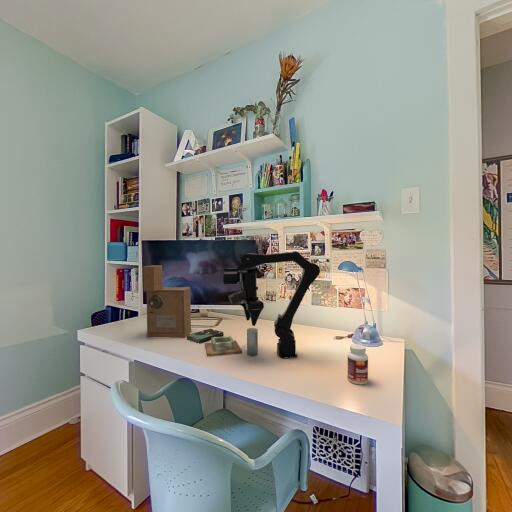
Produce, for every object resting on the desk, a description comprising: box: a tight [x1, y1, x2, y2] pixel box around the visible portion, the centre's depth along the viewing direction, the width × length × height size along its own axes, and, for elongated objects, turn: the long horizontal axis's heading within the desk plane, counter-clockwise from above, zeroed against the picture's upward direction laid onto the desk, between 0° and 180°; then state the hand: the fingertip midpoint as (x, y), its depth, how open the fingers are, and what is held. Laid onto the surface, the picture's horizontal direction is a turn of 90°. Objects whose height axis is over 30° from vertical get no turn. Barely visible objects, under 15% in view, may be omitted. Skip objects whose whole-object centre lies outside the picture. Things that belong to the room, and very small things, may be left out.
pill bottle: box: [347, 343, 369, 386], centre depth 91 cm, size 6×6×11 cm
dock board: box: [204, 335, 243, 358], centre depth 121 cm, size 14×14×4 cm
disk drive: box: [186, 328, 225, 345], centre depth 137 cm, size 10×3×15 cm
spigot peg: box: [246, 327, 259, 357], centre depth 115 cm, size 4×4×10 cm
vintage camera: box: [142, 264, 192, 339], centre depth 141 cm, size 19×14×35 cm
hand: (250, 322), depth 115 cm, fingers open, 9 cm apart
